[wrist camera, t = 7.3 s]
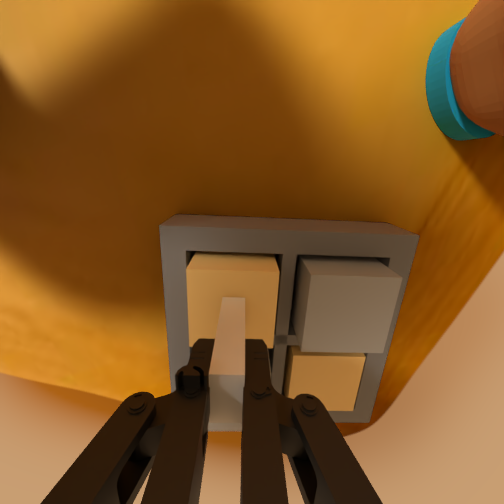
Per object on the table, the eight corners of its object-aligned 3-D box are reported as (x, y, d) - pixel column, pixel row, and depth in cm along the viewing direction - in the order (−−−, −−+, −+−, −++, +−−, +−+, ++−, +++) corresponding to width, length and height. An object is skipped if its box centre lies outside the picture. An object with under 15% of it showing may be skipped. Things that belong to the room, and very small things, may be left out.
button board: (184, 381, 27) (173, 421, 23) (176, 213, 21) (158, 225, 17) (350, 384, 28) (369, 422, 24) (386, 222, 22) (419, 235, 18)
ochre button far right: (280, 375, 26) (286, 410, 22) (285, 325, 24) (293, 355, 20) (337, 375, 26) (352, 411, 22) (346, 327, 24) (365, 356, 21)
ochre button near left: (199, 315, 22) (189, 346, 18) (197, 249, 20) (186, 268, 16) (267, 316, 22) (272, 348, 18) (273, 252, 20) (279, 272, 16)
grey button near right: (291, 319, 22) (301, 351, 18) (298, 254, 20) (311, 274, 16) (359, 321, 22) (382, 353, 18) (372, 256, 20) (402, 277, 16)
